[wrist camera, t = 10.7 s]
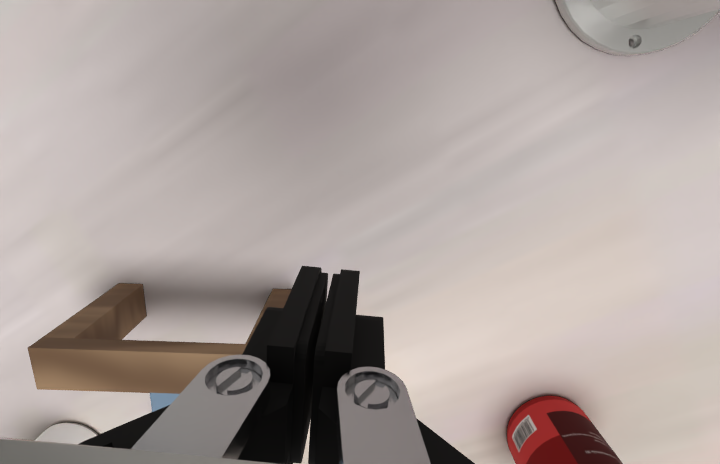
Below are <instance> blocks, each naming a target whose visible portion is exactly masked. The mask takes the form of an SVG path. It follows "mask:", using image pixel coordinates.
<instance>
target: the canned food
mask: <svg viewBox="0 0 720 464" xmlns="http://www.w3.org/2000/svg"><path fill="white" fill-rule="evenodd" d="M507 441H508V446H509V449H510V451H511V454H512V456H513V458H514V461H515V463H516V464H623V463H622V462H621V461H620V459H619V458H618V457H617V455H616V454H615V453H614V451H613V450H612V449H611V447H610V446H609V445H608V443H607V442H606V441H605V440H604V438H603V437H602V436H601V434H600V433H599V432H598V430H597V429H596V428H595V426H594V425H593V424H592V422H591V421H590V420H589V418H588V417H587V416H586V414H585V413H584V412H583V411H582V410H581V409H580V408H579V407H578V406H577V405H575V404H574V403H572V402H571V401H569V400H567V399H565V398H562V397H559V396H542V397H537V398H534V399H532V400H529V401H528V402H526V403H524V404H523V405H522V406H520V407H519V408H518V409H517V410H516V411H515V413H514V414H513V415H512V417H511V419H510V421H509V423H508V427H507Z"/></svg>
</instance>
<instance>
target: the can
mask: <svg viewBox="0 0 720 464" xmlns="http://www.w3.org/2000/svg"><path fill="white" fill-rule="evenodd" d="M97 435H98V434H97V433H96V432H95V431H93V430H92V429H90V428H89V427H87V426H84V425H81V424H77V423H60V424H55V425H53V426H51V427H49V428H47V429H46V430H45V431H44V432H43V433H42V434H41V435H40V436H39V437H38V438H37V439H36V440H35V441H45V442H56V443H67V444H79V443H81V442H83V441H85V440H88V439H90V438H93V437H95V436H97Z"/></svg>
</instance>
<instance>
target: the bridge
mask: <svg viewBox="0 0 720 464" xmlns="http://www.w3.org/2000/svg"><path fill="white" fill-rule="evenodd" d="M291 290H292V289H272V291H271V293H270V295H269V297H268V299H267V301H266V303H265V305H264V308H263V310H262V312H261V314H260V316H259V318H258V320H257V322H256V324H255V326H254V328H253V330H252V332H251V334H250V336H249V338H248V340H247V342H246V344H226V343H196V342H166V341H137V340H122V339H123V338H124V337H125V336H126V335H127V334H128V333H129V332H130V331H131V330H132V329H134V328H135V327H136V326H137V325H138V324H139V323H140V322H141V321H142V320H143V319H144V318H145V317H146V316H147V315H146V307H145V299H144V291H143V284H125V283H119V284H117V285H116V286H114V287H113V288H112V289H110V290H109V291H107V292H106V293H104V294H103V295H102V296H100V297H99V298H97V299H96V300H95V301H93V302H92V303H90V304H89V305H88V306H86V307H85V308H83V309H82V310H80V311H79V312H78V313H76V314H75V315H73V316H72V317H71V318H69V319H68V320H66V321H65V322H64V323H62V324H61V325H59V326H58V327H56V328H55V329H54V330H52V331H51V332H49V333H48V334H47V335H45V336H44V337H42V338H41V339H39V340H38V341H37V342H35V343H34V344H32V345H31V346H30V347H28V351H29V356H30V360H31V365H32V369H33V373H34V378H35V382H36V387H37V389H47V390H78V391H109V392H140V393H171V394H180V393H181V392H182V391H183V390H184V389H185V388H186V387H187V386H188V384H189V383H190V382H191V381H192V380H193V379H194V378H195V377H196V376H197V374H198V373H199V372H200V371H201V370H202V369H203V368H204V367H205V366H207V365H208V364H209V363H211V362H213V361H215V360H217V359H219V358H222V357H226V356H229V355H242V354H243V352H244V350H245V348H246V346H247V344H248V342H249V340H250V338H251V336H252V335H253V333H254V331H255V329H256V327H257V325H258V323H259V321H260V319H261V317H262V315H263V314H264V312H265V310H266V308H267V307H277V308H284V305H285V303H286V301H287V299H288V296H289V294H290V292H291Z"/></svg>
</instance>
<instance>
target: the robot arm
mask: <svg viewBox="0 0 720 464" xmlns="http://www.w3.org/2000/svg"><path fill="white" fill-rule="evenodd" d="M555 1H556V4H557V6H558V9H559V11H560V14H561V16H562V17H563V19H564V20H565V22H566V23H567V25H568V26H569V28H570V29H571V30H572V31H573V32H574V33H575V34H576V35H577V36H578V37H579V38H580V39H581V40H582V41H583V42H585V43H587V44H588V45H590V46H592V47H593V48H595V49H597V50H600V51H603V52H606V53H609V54H613V55H624V56H632V55H641V54H648V53H652V52H656V51H660V50H664V49H666V48H668V47H671V46H673V45H676V44H678V43H680V42H682V41H684V40H685V39H687V38H688V37H690V36H692V35H693V34H695V33H696V32H698V31H699V30H700V29H701V28H702V27H703V26H704V25H706V24H707V23H708V22H709V21H710V20H711V19H712V18H713V17H714V16H715V15H716V14H717V13H718V12H719V11H720V0H555ZM629 42H630V44H629ZM359 274H360V271H352V270H341V273H340V274H333V278H332V282H331V286H330V290H329V294H328V298H327V283H328V273H321V268H319V267H308V266H302V267H301V269H300V272H299V274H298V276H297V278H296V281H295V283H294V285H293V287H292V290H291V292H290V294H289V296H288V299H287V301H286V303H285V305H284V308H277V307H267V308H266V310H265V312H264V314H263V315H262V317H261V319H260V321H259V323H258V325H257V327H256V329H255V331H254V333H253V335H252V336H251V338H250V340H249V342H248V344H247V346H246V348H245V350H244V352H243V354H242V355H229V356H226V357H222V358H219V359H217V360H215V361H213V362H211V363H209V364H208V365H207V366H205V367H204V368H203V369H202V370H201V371H200V372H199V373H198V374H197V376H196V377H195V378H194V379H193V380H192V381H191V382H190V383H189V384H188V386H187V387H186V388H185V389H184V390H183V391H182V392H181V393H180V395H179V396H178V397H177V398H176V399H175V400H174V401H173V402H172V403H171V404H170V405H168V406H166V407H163V408H161V409H159V410H156V411H154V412H151V413H149V414H147V415H144V416H142V417H140V418H137V419H135V420H133V421H130V422H128V423H126V424H123V425H121V426H118V427H116V428H114V429H111V430H109V431H107V432H104V433H102V434H100V435H97V436H95V437H93V438H90V439H88V440H85V441H83V442H81V443H79V444H67V443H56V442H45V441H34V440H23V439H12V438H1V437H0V464H293V463H301V462H302V458H303V454H304V449H305V444H306V439H307V434H308V429H309V424H310V419H311V424H310V442H309V460H308V464H474V463H473V462H472V461H471V460H469V459H468V458H467V457H465V456H464V455H463V454H462V453H460V452H459V451H458V450H456V449H455V448H454V447H453V446H451V445H450V444H449V443H447V442H446V441H445V440H444V439H442V438H441V437H440V436H438V435H437V434H436V433H435V432H433V431H432V430H431V429H429V428H428V427H427V426H426V425H424V424H423V423H422V422H420V421H419V420H418V419H417V418H416V416H415V413H414V410H413V407H412V404H411V400H410V397H409V394H408V391H407V388H406V386H405V385H404V383H403V381H402V380H401V379H400V378H399V377H398V376H396V375H395V374H393V373H391V372H389V371H388V370H385V356H384V327H383V317H374V316H363V315H356V307H357V296H358V285H359ZM326 299H327V302H326Z"/></svg>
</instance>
